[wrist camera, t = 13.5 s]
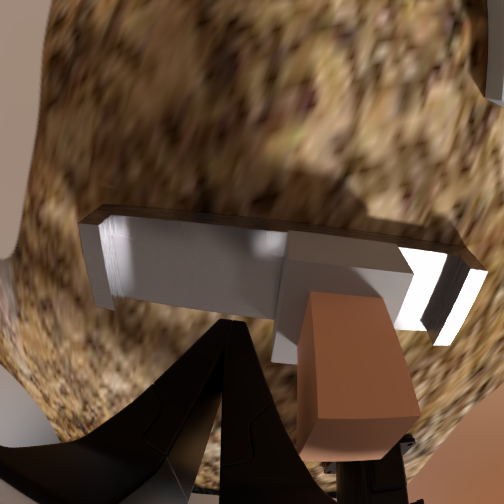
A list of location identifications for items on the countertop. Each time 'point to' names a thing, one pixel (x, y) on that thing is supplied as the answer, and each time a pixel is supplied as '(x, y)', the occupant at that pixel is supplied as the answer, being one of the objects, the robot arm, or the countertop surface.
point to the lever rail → (252, 265)
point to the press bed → (495, 52)
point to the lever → (345, 345)
